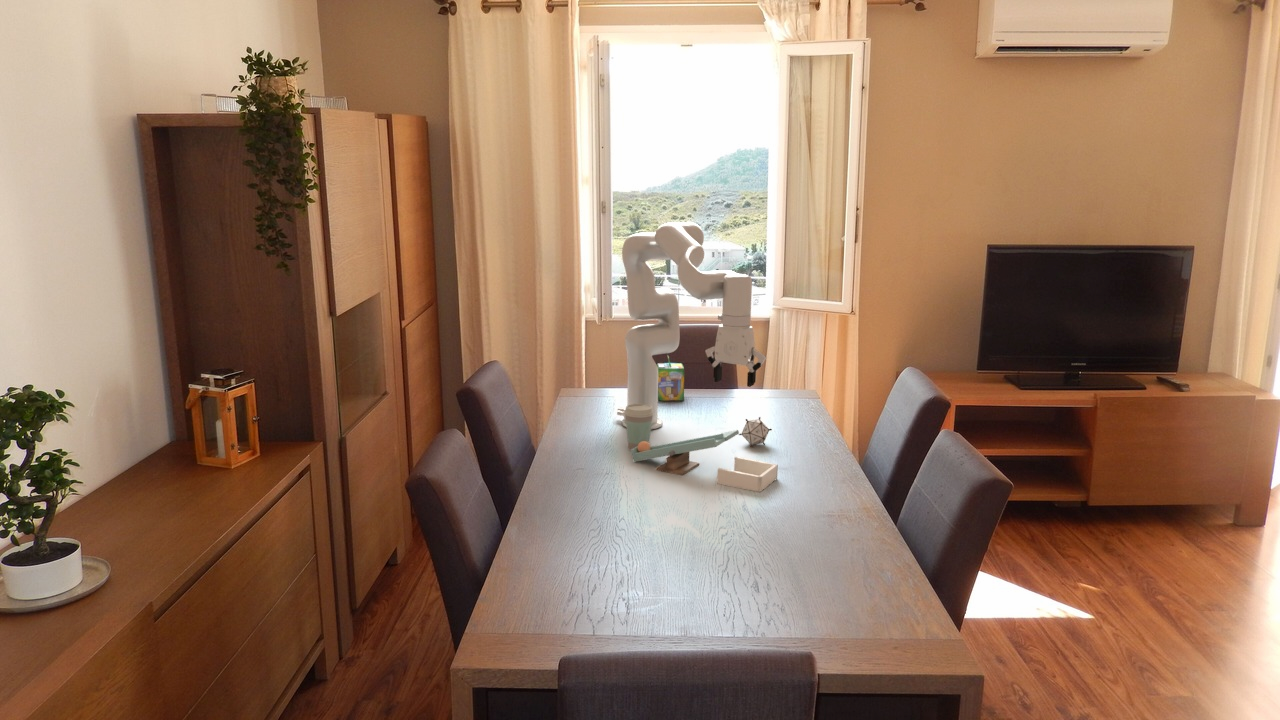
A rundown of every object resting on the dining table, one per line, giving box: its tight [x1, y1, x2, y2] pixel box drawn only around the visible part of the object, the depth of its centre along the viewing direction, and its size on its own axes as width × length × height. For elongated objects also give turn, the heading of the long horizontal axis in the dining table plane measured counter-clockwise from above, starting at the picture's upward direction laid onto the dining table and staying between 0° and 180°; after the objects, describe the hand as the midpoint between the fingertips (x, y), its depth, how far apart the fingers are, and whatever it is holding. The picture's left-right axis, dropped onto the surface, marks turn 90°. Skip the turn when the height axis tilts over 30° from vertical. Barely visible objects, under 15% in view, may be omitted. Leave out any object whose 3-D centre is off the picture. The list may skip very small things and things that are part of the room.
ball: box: [638, 441, 652, 452], centre depth 262 cm, size 4×4×4 cm
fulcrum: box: [655, 452, 700, 476], centre depth 257 cm, size 8×10×4 cm
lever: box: [630, 429, 740, 462], centre depth 259 cm, size 26×16×4 cm, turn 60°
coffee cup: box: [624, 404, 654, 450], centre depth 273 cm, size 8×8×12 cm
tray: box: [716, 456, 779, 493], centre depth 247 cm, size 12×12×4 cm
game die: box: [738, 416, 773, 448], centre depth 277 cm, size 9×8×10 cm
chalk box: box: [656, 354, 685, 402], centre depth 327 cm, size 9×9×15 cm
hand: (734, 383), depth 256 cm, fingers open, 9 cm apart
